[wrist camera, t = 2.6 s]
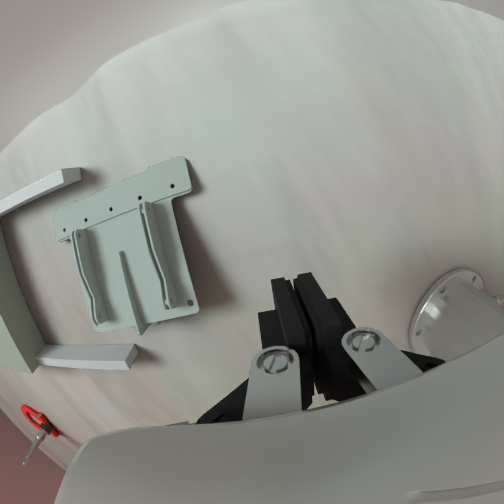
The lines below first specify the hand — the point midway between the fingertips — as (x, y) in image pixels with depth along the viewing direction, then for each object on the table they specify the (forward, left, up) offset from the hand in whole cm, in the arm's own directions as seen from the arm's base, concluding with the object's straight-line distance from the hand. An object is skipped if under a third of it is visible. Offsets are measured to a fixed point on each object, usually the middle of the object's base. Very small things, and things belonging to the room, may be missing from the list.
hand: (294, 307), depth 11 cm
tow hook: (+51, +29, -13) cm, 61 cm away
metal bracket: (+13, -1, -13) cm, 18 cm away
